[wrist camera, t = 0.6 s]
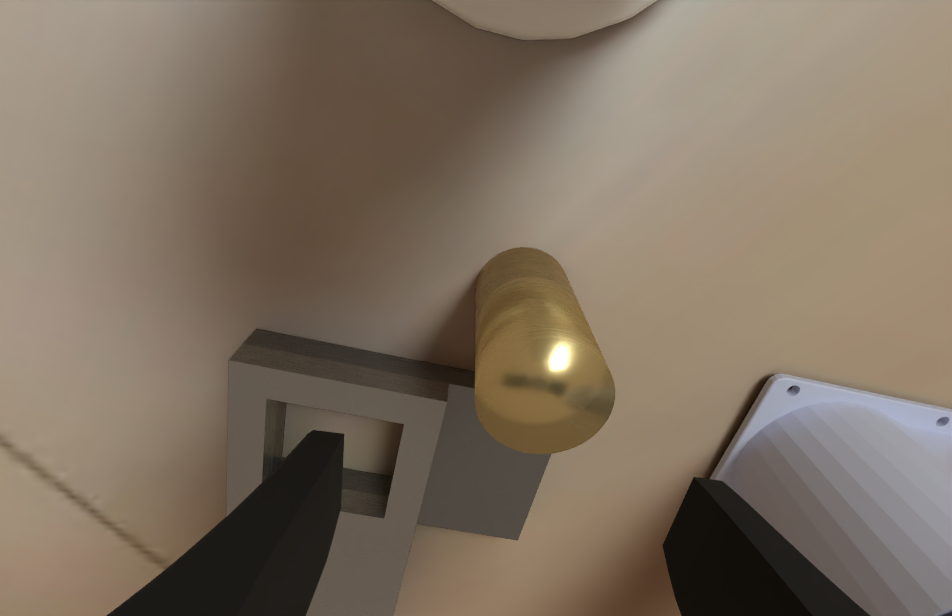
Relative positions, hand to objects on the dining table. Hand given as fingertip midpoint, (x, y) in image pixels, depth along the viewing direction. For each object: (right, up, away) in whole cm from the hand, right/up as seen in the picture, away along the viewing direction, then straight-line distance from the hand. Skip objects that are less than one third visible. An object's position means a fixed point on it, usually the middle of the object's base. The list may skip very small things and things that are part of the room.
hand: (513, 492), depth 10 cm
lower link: (-4, -2, +12) cm, 13 cm away
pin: (+1, +4, +9) cm, 10 cm away
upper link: (-8, -5, +13) cm, 16 cm away
